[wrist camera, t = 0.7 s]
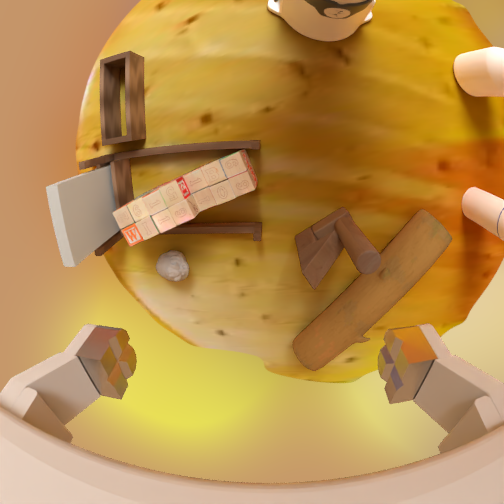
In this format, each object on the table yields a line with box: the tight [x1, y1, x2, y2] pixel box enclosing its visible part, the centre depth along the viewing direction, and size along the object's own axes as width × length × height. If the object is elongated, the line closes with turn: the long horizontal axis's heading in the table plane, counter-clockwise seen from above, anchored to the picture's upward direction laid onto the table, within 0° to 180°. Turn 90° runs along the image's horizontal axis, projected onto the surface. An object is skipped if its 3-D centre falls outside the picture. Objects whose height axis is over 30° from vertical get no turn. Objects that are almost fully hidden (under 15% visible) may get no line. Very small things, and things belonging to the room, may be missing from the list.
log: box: [293, 209, 452, 371], centre depth 51 cm, size 38×10×10 cm, turn 144°
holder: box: [100, 51, 146, 146], centre depth 40 cm, size 16×6×6 cm, turn 1°
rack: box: [79, 140, 262, 256], centre depth 44 cm, size 16×30×12 cm, turn 91°
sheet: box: [46, 165, 120, 267], centre depth 41 cm, size 12×2×20 cm, turn 1°
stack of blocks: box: [113, 149, 258, 247], centre depth 44 cm, size 21×6×12 cm, turn 112°
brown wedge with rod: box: [295, 207, 381, 289], centre depth 43 cm, size 4×11×18 cm, turn 125°
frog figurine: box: [156, 250, 189, 282], centre depth 52 cm, size 6×7×7 cm
